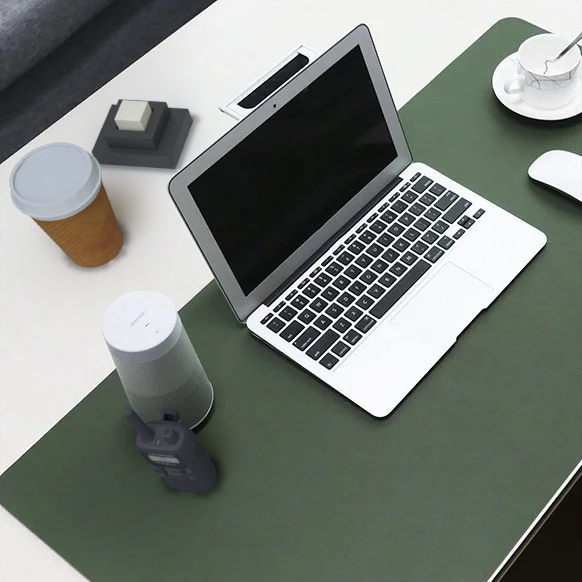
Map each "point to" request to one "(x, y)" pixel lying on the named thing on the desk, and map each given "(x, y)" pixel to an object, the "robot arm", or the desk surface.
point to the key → (133, 115)
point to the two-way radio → (174, 451)
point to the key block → (144, 138)
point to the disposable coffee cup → (68, 202)
